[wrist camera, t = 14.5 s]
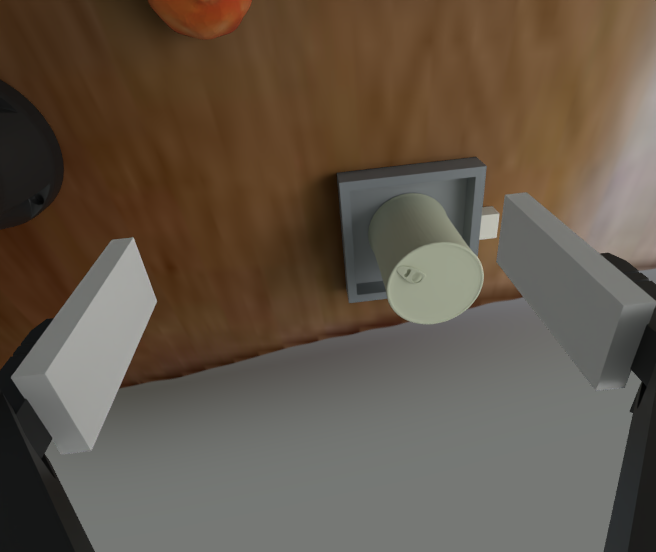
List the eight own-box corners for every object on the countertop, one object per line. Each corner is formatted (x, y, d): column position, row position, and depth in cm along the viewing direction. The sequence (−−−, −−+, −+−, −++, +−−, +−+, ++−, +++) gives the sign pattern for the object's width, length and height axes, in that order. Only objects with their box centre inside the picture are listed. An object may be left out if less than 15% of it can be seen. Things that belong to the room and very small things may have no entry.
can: (396, 178, 48) (425, 227, 37) (464, 214, 50) (507, 269, 40) (353, 246, 52) (367, 307, 41) (417, 276, 54) (446, 340, 44)
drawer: (346, 288, 55) (349, 303, 53) (336, 172, 47) (339, 182, 45) (484, 272, 56) (494, 286, 53) (498, 154, 48) (510, 163, 45)
